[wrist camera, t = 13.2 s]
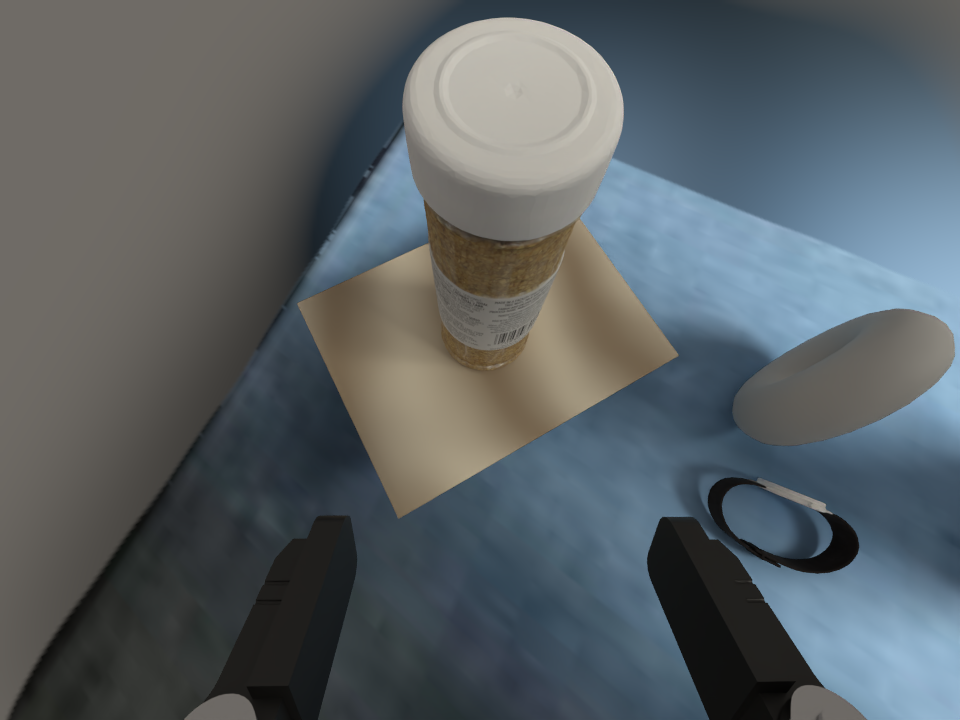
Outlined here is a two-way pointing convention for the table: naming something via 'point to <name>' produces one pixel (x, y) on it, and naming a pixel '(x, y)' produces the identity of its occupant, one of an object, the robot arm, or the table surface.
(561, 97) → the sprinkles bottle
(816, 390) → the donut
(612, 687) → the table surface
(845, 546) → the watch
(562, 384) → the small wooden stool
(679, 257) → the table surface
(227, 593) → the table surface
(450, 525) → the table surface
